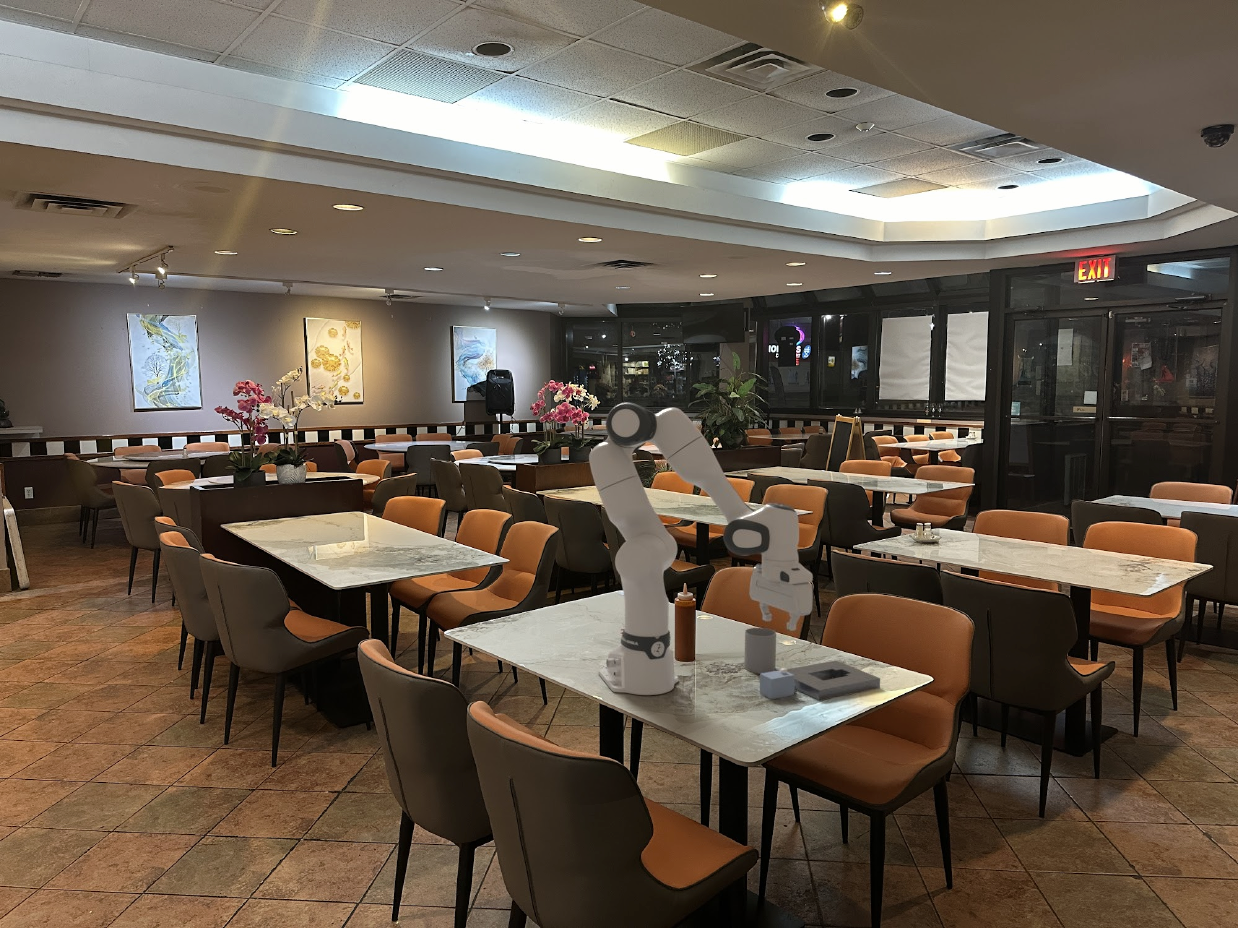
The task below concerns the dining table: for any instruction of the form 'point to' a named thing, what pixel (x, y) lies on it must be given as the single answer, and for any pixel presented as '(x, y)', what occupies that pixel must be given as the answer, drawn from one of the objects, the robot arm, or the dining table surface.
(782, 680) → the block
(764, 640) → the cup
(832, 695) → the frame
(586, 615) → the dining table surface
